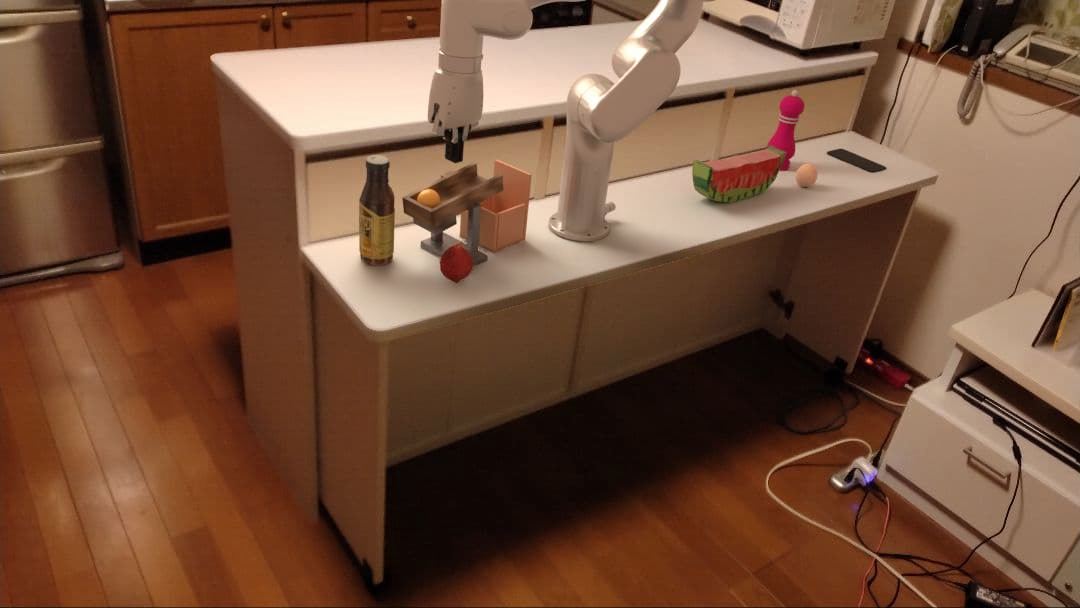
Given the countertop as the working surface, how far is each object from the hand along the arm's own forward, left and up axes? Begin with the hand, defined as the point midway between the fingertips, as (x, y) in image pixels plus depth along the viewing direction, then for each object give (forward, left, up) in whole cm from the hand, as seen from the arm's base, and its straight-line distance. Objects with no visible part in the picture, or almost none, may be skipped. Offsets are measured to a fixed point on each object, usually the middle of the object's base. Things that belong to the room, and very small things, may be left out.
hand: (453, 160), depth 157 cm
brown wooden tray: (+5, +4, -7) cm, 10 cm away
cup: (-6, +6, -16) cm, 18 cm away
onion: (+12, +14, -16) cm, 25 cm away
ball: (+12, +6, -3) cm, 14 cm away
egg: (-87, +34, -16) cm, 95 cm away
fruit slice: (-66, +26, -16) cm, 73 cm away
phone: (-117, +35, -16) cm, 123 cm away
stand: (+5, +6, -16) cm, 18 cm away
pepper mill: (-94, +23, -16) cm, 98 cm away
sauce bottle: (+18, -1, -16) cm, 24 cm away
